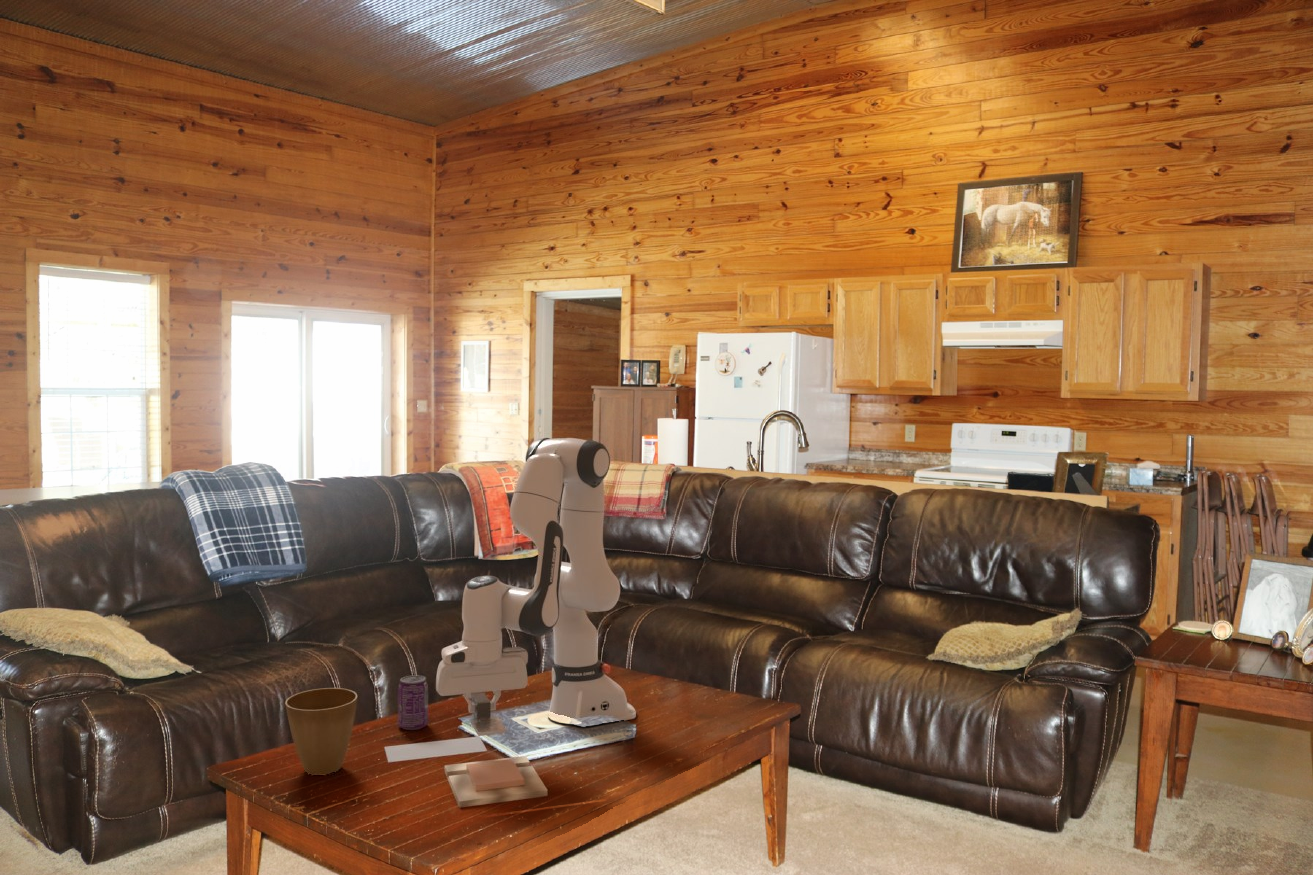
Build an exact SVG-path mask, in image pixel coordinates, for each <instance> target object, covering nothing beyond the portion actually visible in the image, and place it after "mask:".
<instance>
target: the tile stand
mask: <svg viewBox="0 0 1313 875" xmlns="http://www.w3.org/2000/svg"><path fill="white" fill-rule="evenodd" d="M508 759H513V761H514V763H515V764H516V766H517V768H518V769H519V771H520V773H521V775H522V776H523V778H524V785H521V786H513V787H505V788H497V789H490V790H482V791H476V790H475V788H474V786H473V783H472V781H471V779H470V777H469V775H468V773H467V770H466V764H474V763H483V762H491V761H499V760H508ZM530 764H531V763H530V760H529V758H528V757H527V755H522V756H513V757H505V758H498V759H496V758H495V759H488V760H480V761H479V760H478V761H471V762H464V763H463V762H462V763H454V764H453V763H452V764H446V765H444V774H445V775H446V779H447V781H448V783H449V786H450V789H451V791H452V793H453V796H454V798H455V800H456V803H457V805H458V807H459V808H466V807H473V806H482V805H487V804H489V805H490V804H497V803H505V802H510V801H511V802H512V801H519V800H525V799H527V800H528V799H533V798H535V799H536V798H542V797H548V788H547V787H546V786H545V784H544V782H543V781H542V779H541V778H540V776H539V774H538V773H537V771H536V770H535V768H534V766H533V765H530Z"/></svg>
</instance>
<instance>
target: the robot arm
mask: <svg viewBox="0 0 1313 875" xmlns="http://www.w3.org/2000/svg"><path fill="white" fill-rule="evenodd" d="M610 463H611V457H610V454H609V450H608V448H607V447H606V446H605V445H604V443H602V442H599V441H596V440H592V439H588V440H587V439H582V438H575V437H566V438H565V437H564V438H562V437H560V438H559V437H558V438H550V437H544V438H538V439H536V440H534V441H533V442H532V443H531V444H530V445H529V447H528V449H527V451H526V453H525V462H524V466H523V467H522V469H521V471H520V474H519V477H518V479H517V482H516V484H515V488H514V492H513V495H512V499H511V503H510V507H509V518H510V520H511V523H512V524H513V526H514V528H515V529H516V530H517V531H518V532H519V533H520V534H522V535H524V537H526V538H528V539H529V540H530V541H531V542H533V544H534V545H535V546H536V549H537V553H538V554H537V562H536V564H537V565H536V573H535V575H534V579H533V588H532V589H529V588H522V587H520V586H519V587H518V586H514V585H513V586H512V585H509V584H506V583H503V582H502V581H501V580H500V579H499V578H498V577H496V576H494V575H481V576H476V577H474V578H471V579H470V580H468V581H467V582H466V583H465V586H464V589H463V594H462V603H461V604H462V605H461V619H462V622H463V623H462V624H463V631H462V636H461V641H458V642H456V643H453V644H451V645H448V646H446V647H443V648H442V649H441V658H442V660H441V661H439V664H438V665H437V666H438V667H437V669H436V678H435V690H436V692H437V694H438V695H440V696H441V697H444V696H445V697H446V696H448V697H449V696H457V695H462V696H463V698H464V700H465V701H466V702H467V704H468V705H467V706H468V707H467V709H468V713H471V714H472V712H476V704H475V702H474V703H471V694H476V693H488V692H493V694H494V695H493V697H492V699H491V700H489V701H490V702H491V711H496V710H497V702H498V701H499V699H500V697H501V695H502V691H509V690H519V689H525V688H526V686H527V685H528V672H527V671H528V670H527V664H528V660H529V654H528V651H527V650H526V649H525V648H522V647H521V646H516V647H503V633H502V630H503V629H508V630H512V631H516V632H517V631H518V632H523V633H526V634H528V635H532V636H534V637H542V636H544V635H546V634H548V633H549V632H550V631H551V630H552V631H553V632H552V633H553V654H554V655H553V656H554V657H553V661H552V668H551V681H552V693H551V700H550V705H549V709H548V712H549V711H550V712H553V713H555V714H558V715H564V716H567V717H570V718H583V717H588V716H595V715H610V716H613V717H614V718H618V719H621V720H624V721H628V720H633V719H635V718H636V717H637V711H636V709H635V708H634V706H633V705H632V704H630V703H629V702H628V701H627V695H626V692H625V690H624V689H623V688H622V686H621V685H620V684H618V683H617V682H616V681H614V680H613V679H612V678H611V677H609V676H607V675H606V674H609V673H610V672H611V666H610V664H608V663H605V662H603V661H601V660H599V659H598V658H599V657H598V652H599V651H598V649H599V648H598V646H599V645H598V642H599V641H598V640H599V639H598V638H599V634H598V630H597V628H596V626H595V625H594V624H593V623H592V621H591V620H590V619H589V617H588V614H587V612H590V613H591V612H595V613H596V612H597V613H598V612H606V611H610V610H612V609H613V608H614V607H615V606H616V605H617V603H618V601H619V599H620V595H621V585H620V581H619V579H618V577H617V576H616V575H615V574H614V572H613V571H612V569H611V567H610V565H609V563H608V561H607V560H608V559H607V557H606V553H605V549H604V538H603V537H604V533H603V532H604V518H605V516H604V515H605V484H604V479H605V478H606V477H607V474H608V472H609V471H610V470H609V469H610V465H611V464H610ZM560 502H561V503H560ZM559 505H560V507H559ZM559 508H560V512H559V516H558V511H559ZM558 517H559V518H558ZM558 519H559V520H558ZM564 548H565V550H566V551H567V554H568V557H569V562H566V561H563V552H564ZM586 611H587V612H586Z"/></svg>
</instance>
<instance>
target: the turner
mask: <svg viewBox="0 0 1313 875" xmlns="http://www.w3.org/2000/svg"><path fill="white" fill-rule="evenodd" d="M470 701H471V703H474V702H475V704H476V712H472V713H471V714H472V716H473V717H474V718H470V719H469V720H470V724H471V727H473V730H474V731H475V733H476V734H477V737H481V736H491V735H492V736H493V735H500V734H501V735H502V734H507V728H506V727H505V725H504V723H503V722H502V721H501V720H500V718H499V716H498V715H492V713H491V712H492V710H491V702H490V701H491V700H490V699H489V698H488V696H487V695H486V692H479V693H471V698H470Z"/></svg>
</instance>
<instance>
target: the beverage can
mask: <svg viewBox="0 0 1313 875" xmlns="http://www.w3.org/2000/svg"><path fill="white" fill-rule="evenodd" d="M397 688H398V690H397V693H398V694H397V696H398V697H397V708H398V710H397V711H398V712H397V713H398V715H397V718H398V719H397V720H398V721H397V723H398V724H397V725H398V727H399V728H402V729H403V730H406V731H417V730H421V729H422V728H424V727H425V726H427V725H428V724H429V686H428V683H427V677H426V676H424V675H417V674H416V675H415V674H414V675H413V674H412V675H406V676H403V677H401V678H400V679H399V685H398V687H397Z"/></svg>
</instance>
